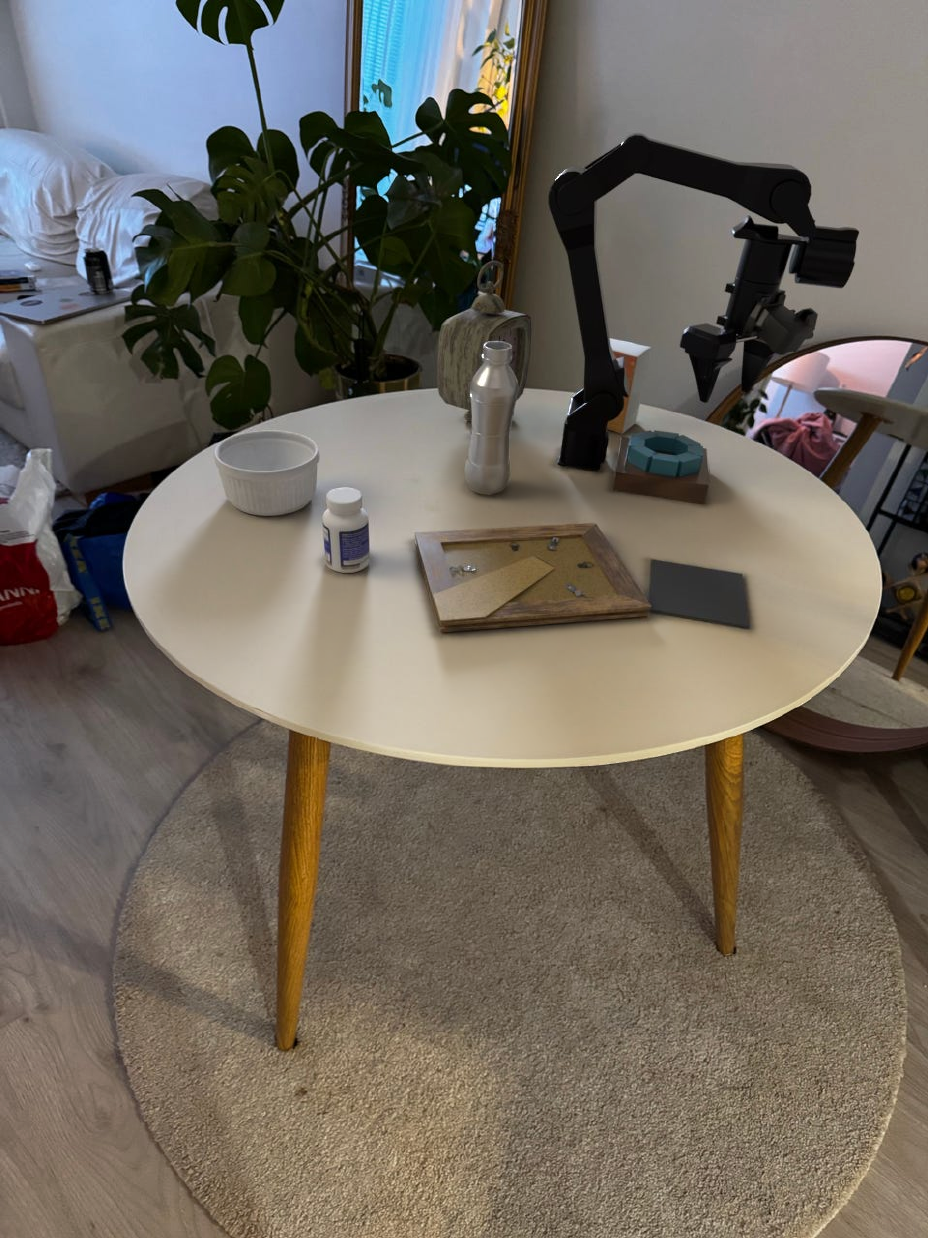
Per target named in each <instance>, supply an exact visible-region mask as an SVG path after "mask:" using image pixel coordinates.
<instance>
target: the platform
mask: <svg viewBox="0 0 928 1238" xmlns="http://www.w3.org/2000/svg"><path fill="white" fill-rule="evenodd" d="M629 439H630V437H626V436H621V437H620V441H619V447H618V452H617V457H616V464H615V470H614V476H613V483H612V491H614V492H621V493H628V494H634V495H638V496H639V495H640V496H647V497H654V498H660V499H665V500H666V499H667V500H674V501H680V502H686V503H687V502H688V503H691V504H692V503H693V504H700V505H705V503H706V499H707V495H708V492H709V489H710V475H709V464H708V452H707V451H708V449H707V448H706V447H703V460H702V464H701V468H700V470H698V472H694V473H690V474H687V475H683V476H678V475H677V474H676V476H669V475H662V474H655V473H649V471H650V470H648V471H644V470H642V469H640V468H639V467H637V466H635V465H633V464H632V463H630V462H628V459H626V457H627V450H628V444H629ZM652 451H654V452H656V453H661V454H668V455H676V454H674V453H673V452H667V451H660V450H652Z"/></svg>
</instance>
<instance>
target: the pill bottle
mask: <svg viewBox="0 0 928 1238" xmlns="http://www.w3.org/2000/svg"><path fill="white" fill-rule="evenodd" d="M362 494H363V493H362V492H361V491H359V490H358V489H356V488H354V487H346V486H345V487H337V488H333V489H331V490H329V491H328V492H327V493H326V496H325V499H326V501H325V503H326V508H327V509H326V510H325V511H324V512H323V514H322V517H321V521H322V536H323V548H324V549H323V550H324V551H323V552H324V561H325V564H326V566H327V567H328V569H331V570H332V571H334V572H337V573H342V574H352V573H356V572H360V571H363V570H364V569H365V568H366V567H368V565H369V564H370V561H371V556H370V555H371V554H370V552H371V551H370V550H371V549H370V524H369V523H370V521H369V514H368V512H367V511H366V509H365V508H363V495H362Z"/></svg>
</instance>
